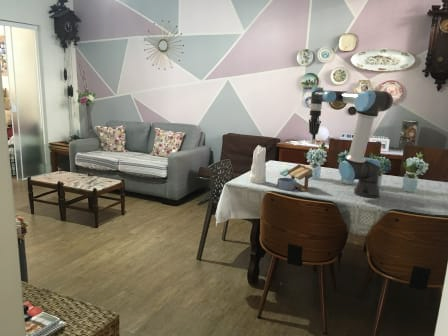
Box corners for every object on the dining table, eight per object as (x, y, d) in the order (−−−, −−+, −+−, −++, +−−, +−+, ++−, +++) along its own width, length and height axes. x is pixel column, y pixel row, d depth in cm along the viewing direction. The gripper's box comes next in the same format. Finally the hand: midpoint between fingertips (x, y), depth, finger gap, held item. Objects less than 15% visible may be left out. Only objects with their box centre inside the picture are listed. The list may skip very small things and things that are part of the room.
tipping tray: (314, 176, 232) (311, 168, 230) (297, 186, 230) (294, 178, 228) (297, 168, 253) (294, 161, 251) (281, 177, 251) (278, 170, 249)
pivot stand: (310, 191, 231) (311, 176, 229) (302, 191, 229) (303, 176, 227) (295, 183, 250) (296, 169, 247) (287, 183, 248) (288, 169, 246)
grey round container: (298, 189, 233) (298, 181, 232) (282, 190, 230) (283, 182, 229) (290, 185, 244) (290, 177, 242) (275, 186, 240) (275, 178, 239)
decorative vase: (264, 184, 243) (267, 147, 238) (248, 182, 245) (251, 146, 240) (266, 180, 254) (268, 145, 249) (251, 179, 256) (253, 144, 251)
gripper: (306, 109, 256) (303, 142, 261) (315, 110, 244) (312, 145, 249) (315, 109, 258) (312, 142, 263) (325, 110, 246) (322, 145, 251)
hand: (312, 143), depth 256 cm, fingers closed
